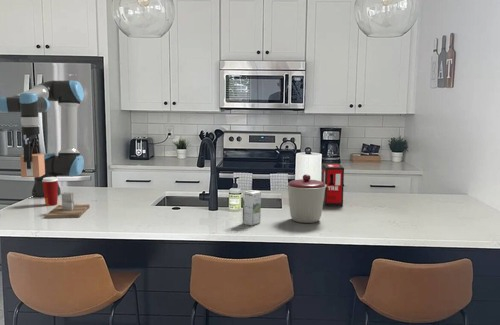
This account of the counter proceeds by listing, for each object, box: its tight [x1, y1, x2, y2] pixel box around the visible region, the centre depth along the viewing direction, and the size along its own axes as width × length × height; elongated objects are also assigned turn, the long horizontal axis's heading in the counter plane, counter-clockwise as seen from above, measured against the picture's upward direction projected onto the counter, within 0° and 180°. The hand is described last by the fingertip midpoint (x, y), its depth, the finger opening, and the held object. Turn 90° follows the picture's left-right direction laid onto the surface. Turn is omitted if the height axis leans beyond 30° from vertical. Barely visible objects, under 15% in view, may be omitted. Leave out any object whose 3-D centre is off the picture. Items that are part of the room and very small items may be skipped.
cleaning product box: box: [321, 162, 345, 207], centre depth 242 cm, size 16×9×20 cm, turn 179°
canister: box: [285, 174, 327, 224], centre depth 206 cm, size 18×18×21 cm
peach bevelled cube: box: [19, 153, 45, 178], centre depth 217 cm, size 8×8×10 cm
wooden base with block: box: [44, 191, 90, 219], centre depth 220 cm, size 20×15×10 cm
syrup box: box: [242, 189, 262, 227], centre depth 201 cm, size 6×6×14 cm
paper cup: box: [42, 176, 59, 207], centre depth 236 cm, size 8×8×14 cm
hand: (33, 174), depth 217 cm, fingers closed on peach bevelled cube, 8 cm apart
